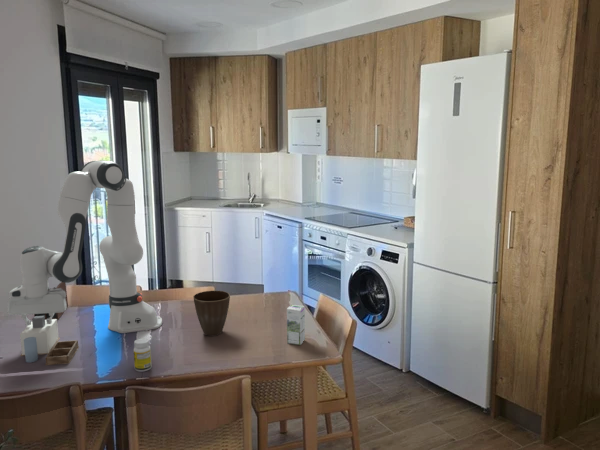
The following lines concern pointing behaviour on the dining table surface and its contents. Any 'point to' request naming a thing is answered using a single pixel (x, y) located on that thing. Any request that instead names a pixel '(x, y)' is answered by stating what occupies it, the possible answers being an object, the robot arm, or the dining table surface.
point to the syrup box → (295, 324)
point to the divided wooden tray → (62, 352)
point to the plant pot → (212, 310)
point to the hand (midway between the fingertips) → (39, 324)
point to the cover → (41, 334)
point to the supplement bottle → (142, 355)
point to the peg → (30, 349)
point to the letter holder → (57, 315)
